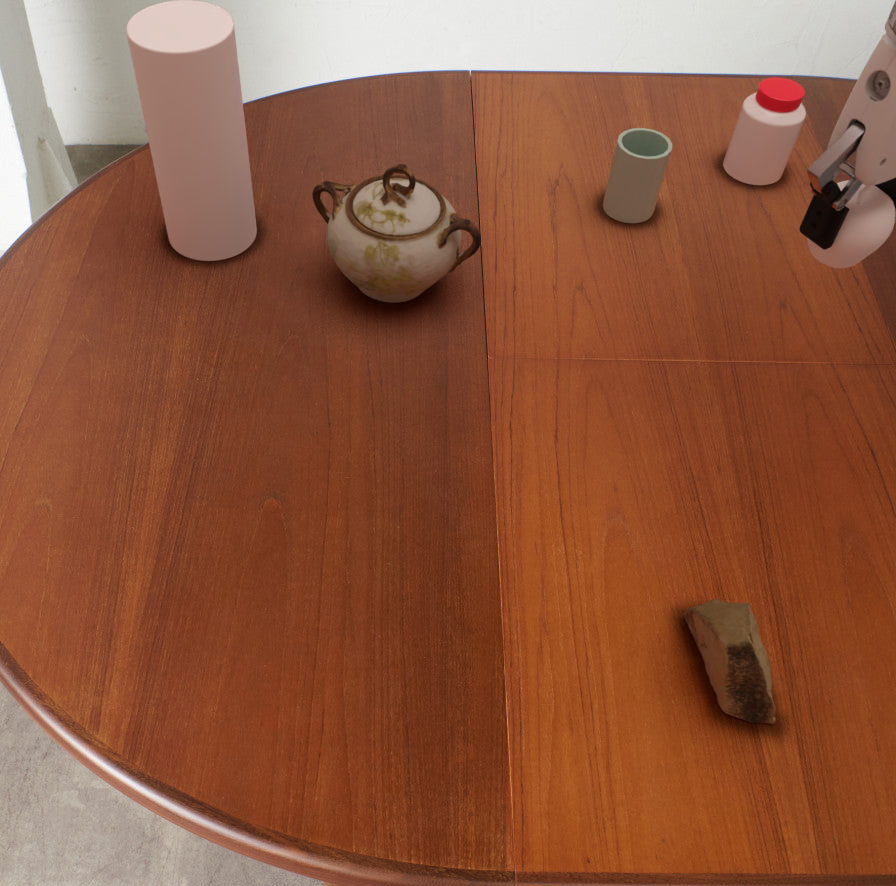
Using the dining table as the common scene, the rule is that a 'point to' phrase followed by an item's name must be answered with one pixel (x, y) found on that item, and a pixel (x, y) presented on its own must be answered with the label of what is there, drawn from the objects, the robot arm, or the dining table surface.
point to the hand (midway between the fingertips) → (847, 224)
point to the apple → (859, 228)
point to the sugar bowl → (394, 234)
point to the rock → (734, 658)
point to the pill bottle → (766, 132)
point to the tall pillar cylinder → (195, 125)
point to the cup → (636, 175)
